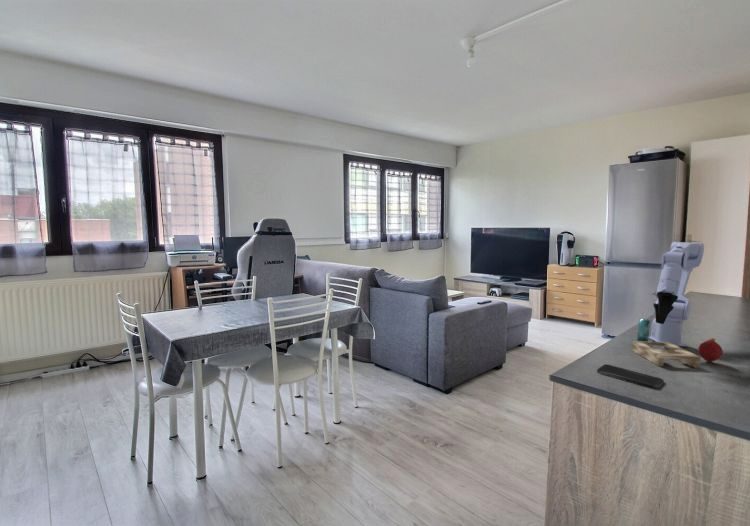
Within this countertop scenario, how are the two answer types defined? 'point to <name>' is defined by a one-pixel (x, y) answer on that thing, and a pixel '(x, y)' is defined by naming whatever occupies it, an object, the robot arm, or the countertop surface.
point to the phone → (631, 376)
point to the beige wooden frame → (664, 353)
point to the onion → (710, 350)
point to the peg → (643, 331)
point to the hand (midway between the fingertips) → (661, 319)
